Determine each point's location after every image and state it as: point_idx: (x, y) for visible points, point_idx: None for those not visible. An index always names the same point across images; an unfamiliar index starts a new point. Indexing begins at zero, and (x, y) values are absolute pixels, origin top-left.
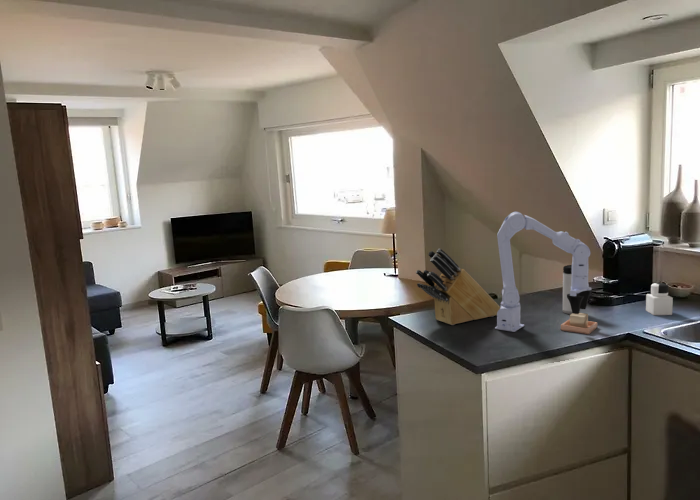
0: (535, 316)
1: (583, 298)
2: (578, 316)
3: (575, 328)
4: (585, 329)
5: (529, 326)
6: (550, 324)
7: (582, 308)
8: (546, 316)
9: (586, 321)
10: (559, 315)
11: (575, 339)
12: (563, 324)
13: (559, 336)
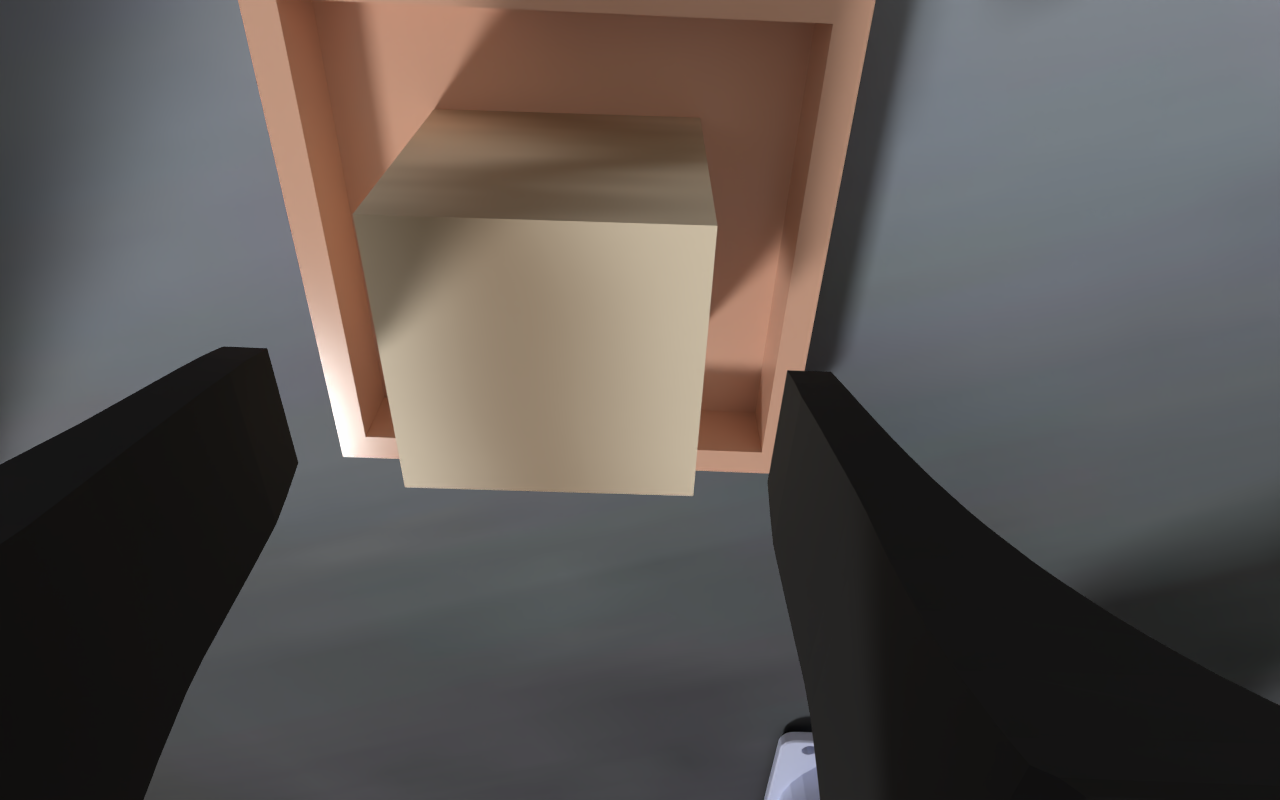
0: (352, 738)
1: (98, 628)
2: (705, 340)
3: (819, 247)
4: (857, 57)
5: (768, 694)
6: (568, 571)
7: (274, 413)
8: (266, 672)
9: (506, 156)
10: None
11: (1246, 102)
12: (738, 450)
13: (1108, 355)
